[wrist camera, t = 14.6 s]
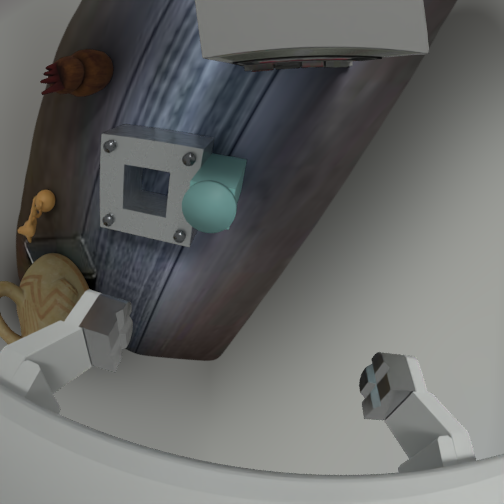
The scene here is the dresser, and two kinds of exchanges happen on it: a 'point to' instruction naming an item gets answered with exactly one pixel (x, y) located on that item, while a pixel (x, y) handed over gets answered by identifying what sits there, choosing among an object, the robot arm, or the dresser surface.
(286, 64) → the cassette tape recorder
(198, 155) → the housing
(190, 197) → the cover plug
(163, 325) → the dresser surface
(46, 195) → the figurine
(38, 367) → the robot arm
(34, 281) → the ceramic vessel
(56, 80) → the wooden figurine
